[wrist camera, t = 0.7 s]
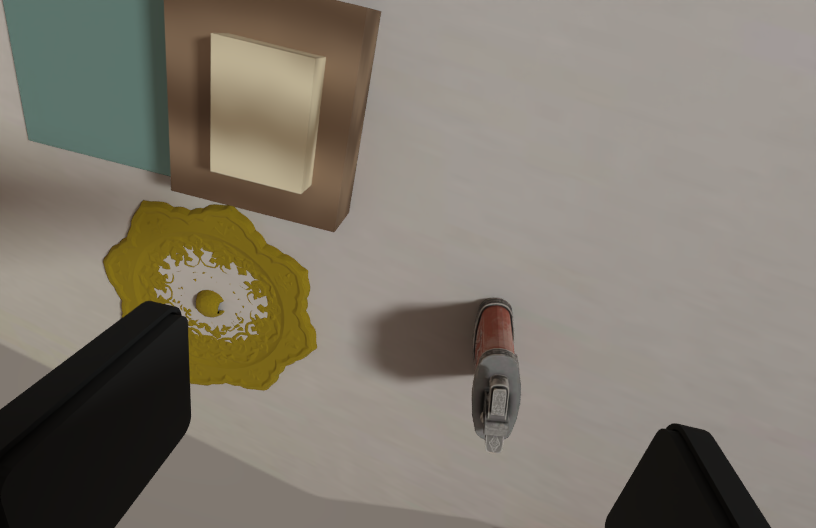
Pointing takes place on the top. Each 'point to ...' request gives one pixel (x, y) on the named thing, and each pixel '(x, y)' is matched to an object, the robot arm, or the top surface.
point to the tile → (264, 111)
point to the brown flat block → (339, 112)
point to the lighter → (495, 374)
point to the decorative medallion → (230, 242)
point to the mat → (94, 77)
